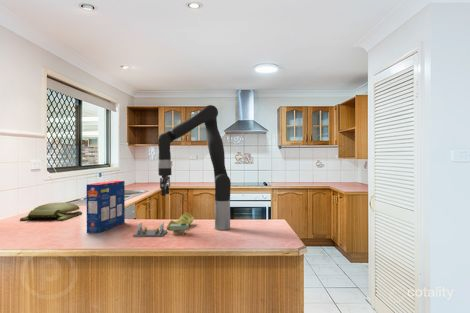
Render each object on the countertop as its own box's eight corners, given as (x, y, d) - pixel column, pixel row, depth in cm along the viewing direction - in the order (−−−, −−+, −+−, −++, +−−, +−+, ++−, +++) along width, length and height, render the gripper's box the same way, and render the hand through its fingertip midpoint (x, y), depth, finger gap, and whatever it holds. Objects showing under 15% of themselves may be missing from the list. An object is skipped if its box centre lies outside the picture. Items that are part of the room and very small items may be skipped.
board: (188, 227, 188) (188, 222, 188) (187, 229, 182) (187, 224, 182) (171, 227, 188) (171, 222, 188) (169, 229, 182) (169, 224, 182)
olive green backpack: (62, 221, 221) (62, 207, 221) (18, 221, 221) (17, 207, 221) (87, 212, 256) (87, 200, 256) (48, 212, 256) (48, 200, 256)
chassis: (167, 231, 190) (167, 221, 190) (162, 236, 178) (162, 225, 178) (139, 231, 191) (139, 221, 191) (133, 236, 179) (133, 225, 179)
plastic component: (183, 227, 193) (169, 219, 195) (178, 237, 194) (165, 229, 196) (196, 218, 212) (183, 211, 214) (192, 227, 213) (179, 220, 215)
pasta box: (113, 222, 216) (113, 180, 216) (124, 223, 215) (124, 180, 215) (86, 232, 189) (86, 184, 189) (99, 233, 187) (98, 184, 187)
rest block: (185, 233, 187) (185, 227, 187) (183, 234, 183) (183, 229, 183) (174, 233, 187) (174, 227, 187) (173, 234, 184) (173, 229, 184)
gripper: (168, 167, 184) (168, 196, 184) (173, 166, 199) (174, 193, 199) (155, 168, 185) (155, 196, 185) (161, 167, 199) (162, 193, 199)
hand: (165, 194), depth 192 cm, fingers open, 8 cm apart
